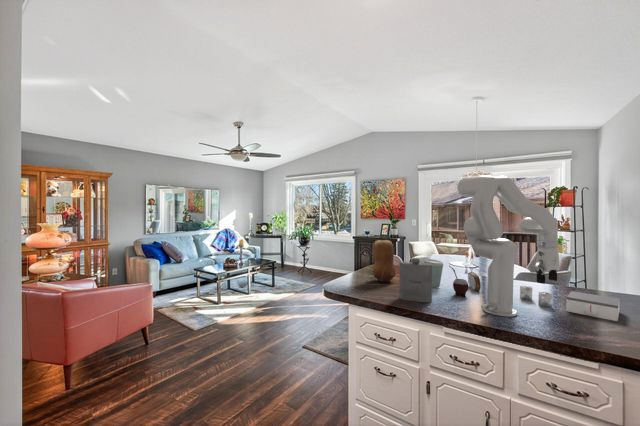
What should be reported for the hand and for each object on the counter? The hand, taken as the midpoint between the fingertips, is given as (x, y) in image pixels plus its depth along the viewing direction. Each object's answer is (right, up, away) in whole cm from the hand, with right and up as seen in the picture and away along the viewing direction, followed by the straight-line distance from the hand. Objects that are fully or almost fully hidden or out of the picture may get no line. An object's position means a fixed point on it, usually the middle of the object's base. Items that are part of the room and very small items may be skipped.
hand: (546, 281), depth 138 cm
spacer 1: (-3, -11, +10) cm, 15 cm away
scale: (+15, -12, -7) cm, 20 cm away
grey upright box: (-58, -11, +7) cm, 60 cm away
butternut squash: (-66, -10, +43) cm, 79 cm away
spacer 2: (-1, -11, 0) cm, 11 cm away
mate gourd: (-33, -11, +15) cm, 38 cm away
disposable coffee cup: (-40, -10, +32) cm, 52 cm away
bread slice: (-19, -11, +29) cm, 36 cm away
